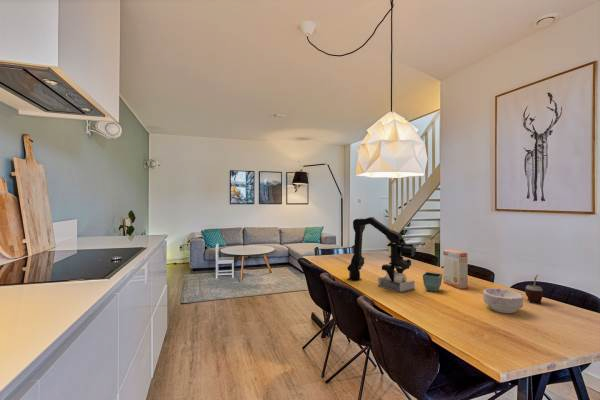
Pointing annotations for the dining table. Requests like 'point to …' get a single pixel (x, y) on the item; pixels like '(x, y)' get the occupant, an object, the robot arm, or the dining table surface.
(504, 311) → the grey stone bowl
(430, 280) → the flower pot
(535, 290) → the mate gourd
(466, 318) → the dining table surface
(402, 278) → the paper roll
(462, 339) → the dining table surface
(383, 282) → the cradle
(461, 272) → the cracker box
